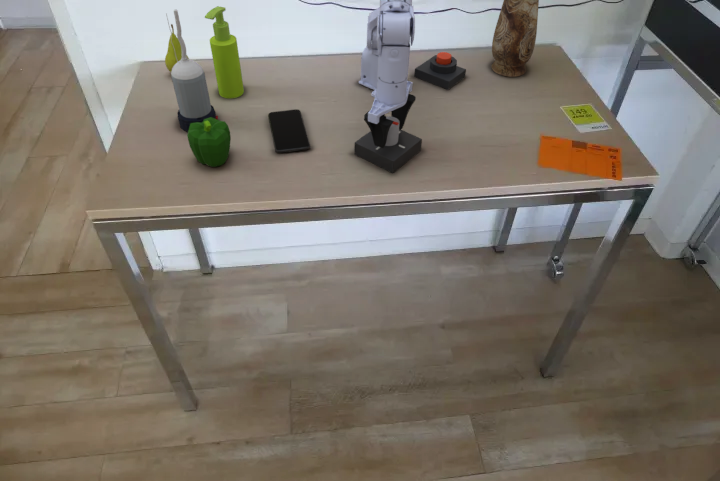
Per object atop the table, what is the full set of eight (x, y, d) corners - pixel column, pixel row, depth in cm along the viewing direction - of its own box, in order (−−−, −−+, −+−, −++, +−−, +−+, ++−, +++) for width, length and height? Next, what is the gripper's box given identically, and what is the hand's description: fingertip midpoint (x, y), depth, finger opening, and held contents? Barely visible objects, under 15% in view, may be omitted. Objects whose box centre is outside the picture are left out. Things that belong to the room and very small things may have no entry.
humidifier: (223, 126, 124) (202, 13, 106) (187, 136, 121) (159, 23, 103) (209, 108, 129) (187, -2, 111) (174, 118, 126) (146, 7, 108)
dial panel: (354, 154, 117) (354, 141, 115) (383, 133, 123) (383, 121, 121) (392, 173, 113) (393, 160, 111) (420, 150, 119) (422, 138, 116)
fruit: (173, 82, 137) (161, 35, 128) (165, 72, 140) (153, 25, 132) (195, 76, 139) (186, 29, 130) (187, 66, 142) (177, 20, 134)
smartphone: (311, 150, 118) (300, 111, 128) (310, 146, 117) (300, 108, 128) (275, 154, 117) (267, 115, 127) (275, 151, 116) (267, 111, 126)
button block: (414, 76, 141) (415, 61, 138) (432, 64, 145) (433, 49, 143) (448, 89, 136) (450, 74, 134) (465, 76, 141) (468, 62, 138)
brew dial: (375, 142, 115) (376, 122, 112) (385, 132, 118) (386, 112, 114) (391, 148, 114) (393, 128, 110) (401, 138, 116) (403, 118, 113)
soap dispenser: (211, 97, 132) (195, 13, 118) (227, 83, 137) (213, 1, 123) (233, 102, 131) (219, 18, 117) (248, 88, 135) (237, 5, 121)
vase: (532, 79, 141) (564, -49, 120) (489, 78, 141) (514, -50, 120) (523, 59, 148) (553, -65, 127) (483, 58, 148) (506, -66, 127)
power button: (433, 62, 139) (434, 55, 137) (441, 57, 141) (442, 50, 139) (445, 67, 137) (446, 60, 136) (453, 61, 139) (454, 55, 138)
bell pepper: (195, 148, 118) (186, 106, 111) (235, 147, 118) (228, 105, 111) (190, 173, 112) (179, 130, 105) (231, 171, 112) (224, 129, 105)
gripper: (392, 55, 111) (388, 114, 121) (354, 86, 102) (353, 148, 112) (424, 64, 109) (417, 124, 118) (388, 97, 100) (384, 159, 110)
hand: (388, 136), depth 115 cm, fingers open, 7 cm apart
